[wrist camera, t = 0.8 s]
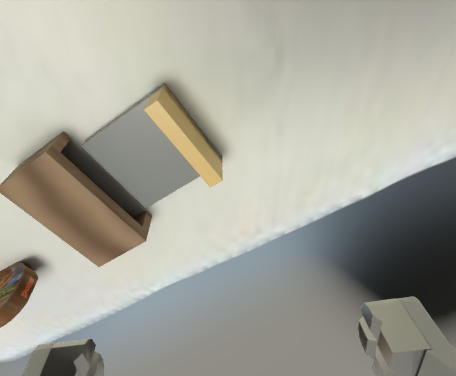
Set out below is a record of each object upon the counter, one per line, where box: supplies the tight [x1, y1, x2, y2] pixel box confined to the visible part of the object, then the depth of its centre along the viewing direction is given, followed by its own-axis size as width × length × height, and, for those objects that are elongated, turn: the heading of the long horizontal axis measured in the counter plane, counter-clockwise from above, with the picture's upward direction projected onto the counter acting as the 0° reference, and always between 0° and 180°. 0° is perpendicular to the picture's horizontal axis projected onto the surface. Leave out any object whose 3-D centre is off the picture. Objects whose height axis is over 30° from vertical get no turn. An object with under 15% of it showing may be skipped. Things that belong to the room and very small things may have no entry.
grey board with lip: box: [81, 83, 223, 208], centre depth 35 cm, size 11×10×5 cm
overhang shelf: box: [0, 132, 152, 267], centre depth 38 cm, size 8×14×4 cm, turn 34°
